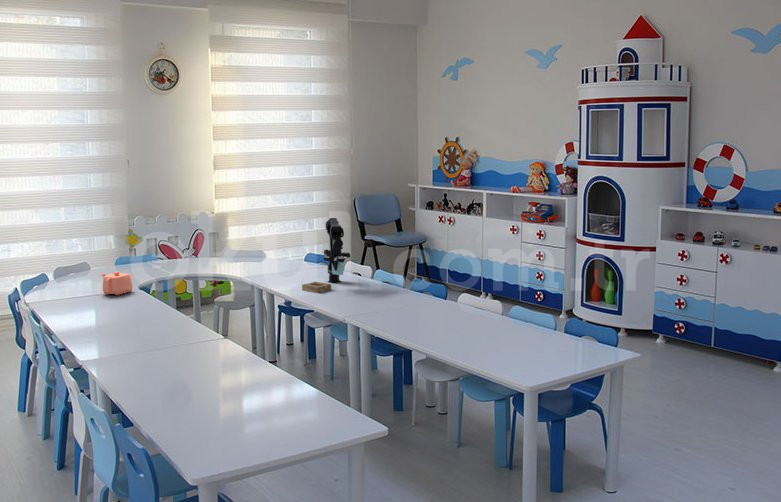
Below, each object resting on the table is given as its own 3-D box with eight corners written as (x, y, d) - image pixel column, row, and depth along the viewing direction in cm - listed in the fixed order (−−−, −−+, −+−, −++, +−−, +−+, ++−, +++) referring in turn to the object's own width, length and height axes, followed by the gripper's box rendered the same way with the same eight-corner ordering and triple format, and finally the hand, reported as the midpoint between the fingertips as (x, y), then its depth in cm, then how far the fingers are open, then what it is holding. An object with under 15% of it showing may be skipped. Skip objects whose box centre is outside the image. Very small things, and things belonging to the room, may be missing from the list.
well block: (315, 286, 495) (315, 281, 494) (331, 289, 486) (331, 284, 485) (302, 290, 486) (301, 284, 485) (317, 293, 477) (317, 287, 476)
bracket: (335, 273, 491) (335, 260, 489) (345, 274, 485) (344, 262, 484) (332, 273, 488) (331, 261, 487) (341, 275, 483) (341, 262, 482)
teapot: (112, 288, 501) (110, 268, 498) (137, 290, 494) (135, 269, 492) (90, 295, 482) (88, 274, 480) (116, 297, 476) (114, 275, 473)
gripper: (337, 242, 496) (338, 266, 499) (317, 246, 482) (318, 271, 485) (350, 244, 489) (351, 268, 492) (329, 248, 475) (330, 273, 478)
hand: (337, 270), depth 487 cm, fingers closed on bracket, 3 cm apart
